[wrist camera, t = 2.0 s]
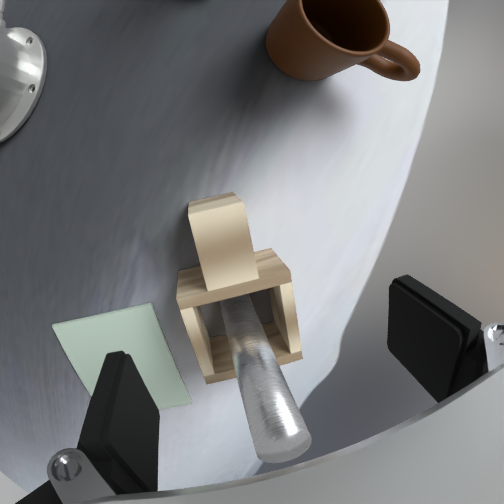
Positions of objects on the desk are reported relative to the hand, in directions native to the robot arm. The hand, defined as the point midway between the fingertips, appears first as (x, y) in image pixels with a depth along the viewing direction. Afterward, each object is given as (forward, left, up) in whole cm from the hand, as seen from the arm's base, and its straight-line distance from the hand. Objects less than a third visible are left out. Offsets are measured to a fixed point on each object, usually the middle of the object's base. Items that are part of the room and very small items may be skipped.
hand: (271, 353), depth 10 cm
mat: (+13, -14, -19) cm, 27 cm away
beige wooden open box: (+5, 0, -19) cm, 20 cm away
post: (+8, 0, -19) cm, 21 cm away
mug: (-14, +13, -20) cm, 27 cm away
